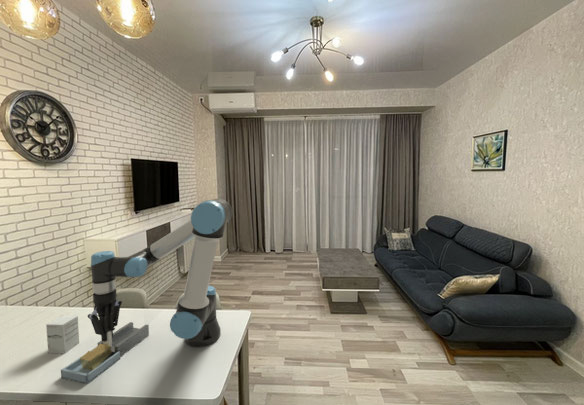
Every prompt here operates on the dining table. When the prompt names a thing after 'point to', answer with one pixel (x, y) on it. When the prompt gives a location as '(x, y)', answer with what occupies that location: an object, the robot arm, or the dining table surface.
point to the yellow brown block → (90, 360)
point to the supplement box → (62, 334)
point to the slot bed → (127, 338)
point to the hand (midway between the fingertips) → (107, 346)
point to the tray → (86, 375)
